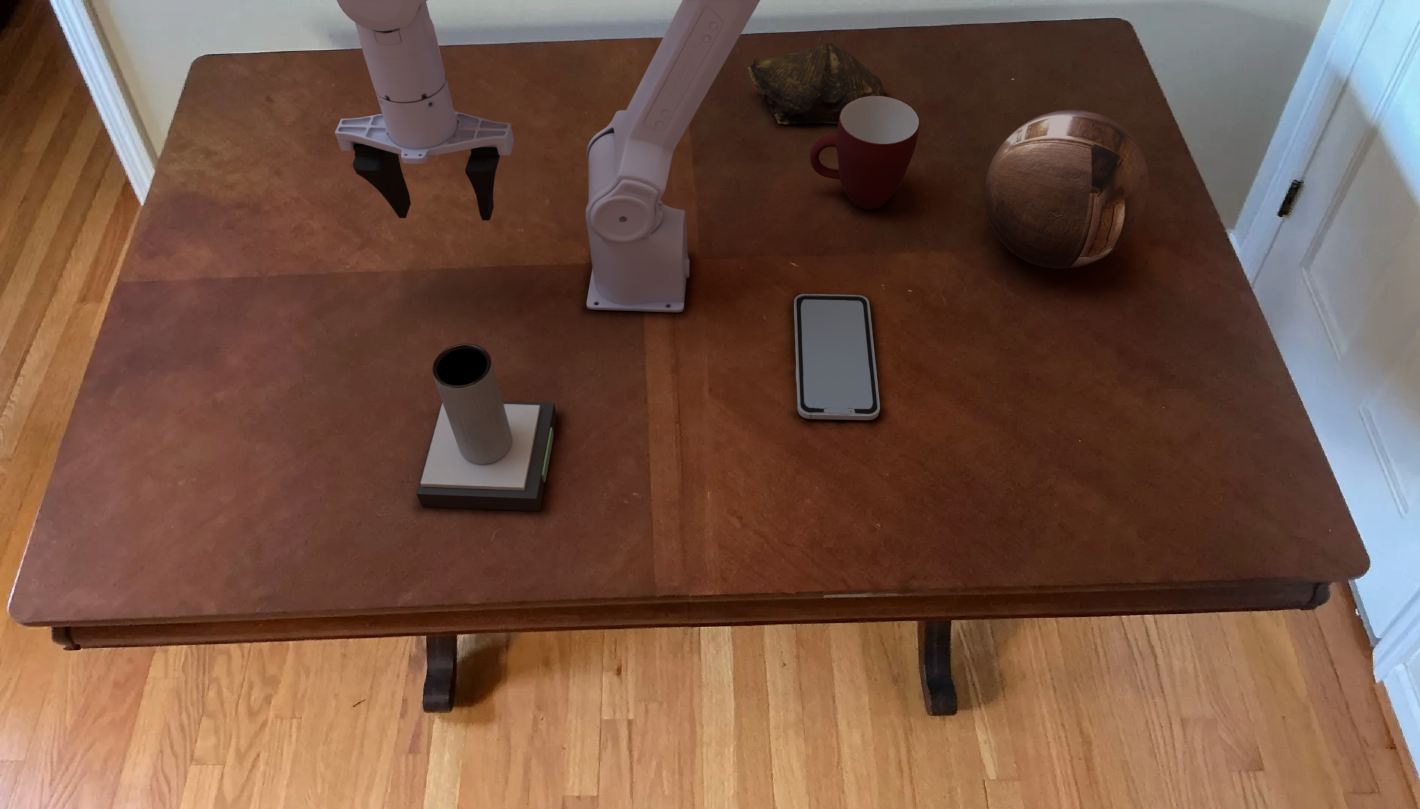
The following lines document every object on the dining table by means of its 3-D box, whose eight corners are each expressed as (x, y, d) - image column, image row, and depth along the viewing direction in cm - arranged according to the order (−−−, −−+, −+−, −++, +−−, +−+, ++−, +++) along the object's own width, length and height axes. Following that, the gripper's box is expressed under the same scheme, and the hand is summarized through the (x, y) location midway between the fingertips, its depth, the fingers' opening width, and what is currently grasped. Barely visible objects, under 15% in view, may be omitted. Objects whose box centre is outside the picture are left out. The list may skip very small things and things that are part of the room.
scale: (558, 416, 89) (555, 399, 87) (541, 511, 83) (537, 495, 81) (446, 412, 90) (440, 395, 88) (421, 506, 84) (414, 490, 82)
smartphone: (868, 295, 97) (881, 415, 88) (867, 301, 98) (880, 421, 89) (793, 293, 97) (797, 414, 88) (792, 299, 98) (797, 420, 89)
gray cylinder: (519, 454, 84) (498, 376, 76) (467, 472, 83) (440, 395, 75) (504, 415, 86) (482, 335, 78) (452, 432, 85) (425, 353, 77)
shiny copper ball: (965, 195, 108) (996, 73, 96) (1106, 203, 107) (1155, 81, 95) (976, 295, 98) (1012, 174, 87) (1131, 304, 98) (1188, 183, 86)
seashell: (880, 76, 120) (891, 32, 114) (886, 135, 117) (898, 93, 110) (745, 75, 120) (748, 31, 114) (747, 135, 116) (750, 93, 110)
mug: (809, 223, 105) (817, 145, 97) (804, 173, 110) (811, 95, 102) (909, 222, 105) (925, 144, 97) (900, 172, 110) (914, 94, 102)
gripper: (306, 109, 78) (356, 239, 89) (490, 114, 77) (518, 244, 88) (332, 58, 82) (376, 187, 93) (506, 62, 82) (530, 192, 92)
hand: (446, 212), depth 91 cm, fingers open, 7 cm apart
